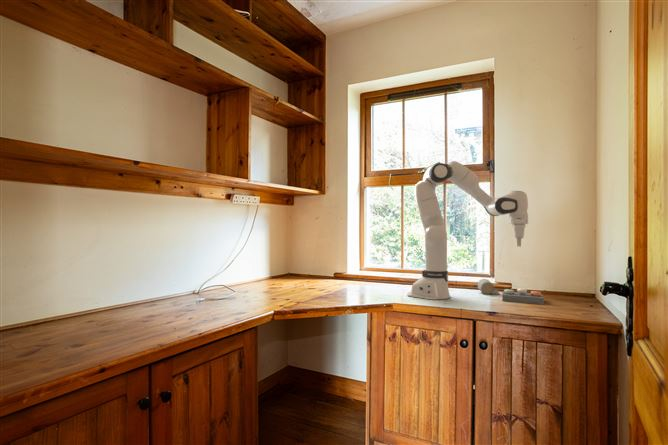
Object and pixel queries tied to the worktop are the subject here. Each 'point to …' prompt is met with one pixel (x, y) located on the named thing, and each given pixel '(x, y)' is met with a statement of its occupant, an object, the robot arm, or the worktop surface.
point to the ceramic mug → (486, 287)
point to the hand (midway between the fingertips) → (519, 246)
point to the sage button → (509, 291)
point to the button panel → (523, 298)
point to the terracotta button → (535, 293)
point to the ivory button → (521, 291)
